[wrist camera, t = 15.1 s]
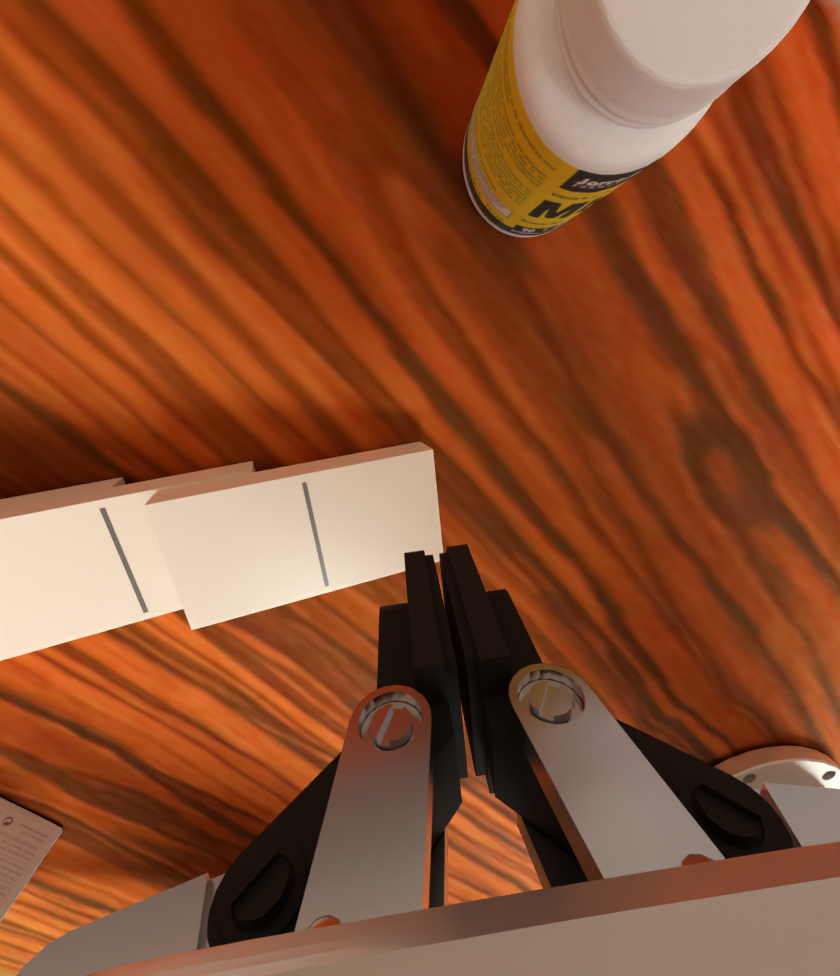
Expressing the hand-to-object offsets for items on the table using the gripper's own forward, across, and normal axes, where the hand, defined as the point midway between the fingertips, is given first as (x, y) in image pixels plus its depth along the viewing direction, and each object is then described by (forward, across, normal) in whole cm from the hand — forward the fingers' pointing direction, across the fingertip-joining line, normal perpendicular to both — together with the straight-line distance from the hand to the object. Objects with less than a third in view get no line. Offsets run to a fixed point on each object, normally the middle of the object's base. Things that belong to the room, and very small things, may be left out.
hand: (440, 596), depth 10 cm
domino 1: (+7, +7, 0) cm, 10 cm away
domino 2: (+7, 0, 0) cm, 7 cm away
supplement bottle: (+8, -5, -12) cm, 15 cm away
